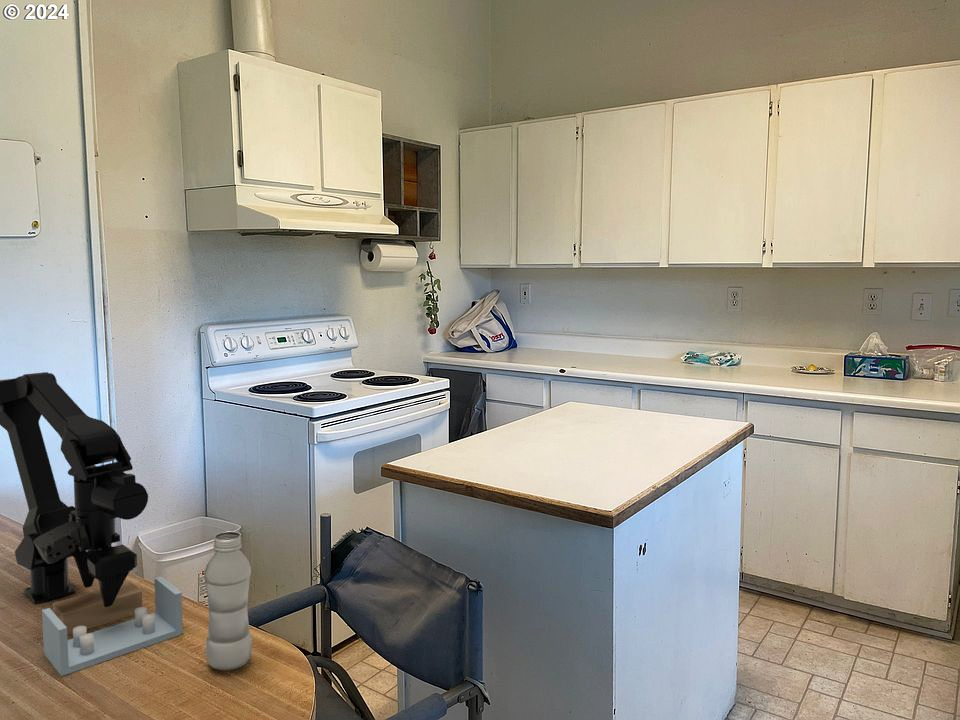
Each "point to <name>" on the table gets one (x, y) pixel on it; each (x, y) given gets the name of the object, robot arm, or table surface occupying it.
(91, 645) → the peg rack
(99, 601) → the shelf block
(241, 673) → the table surface
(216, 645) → the plastic bottle
